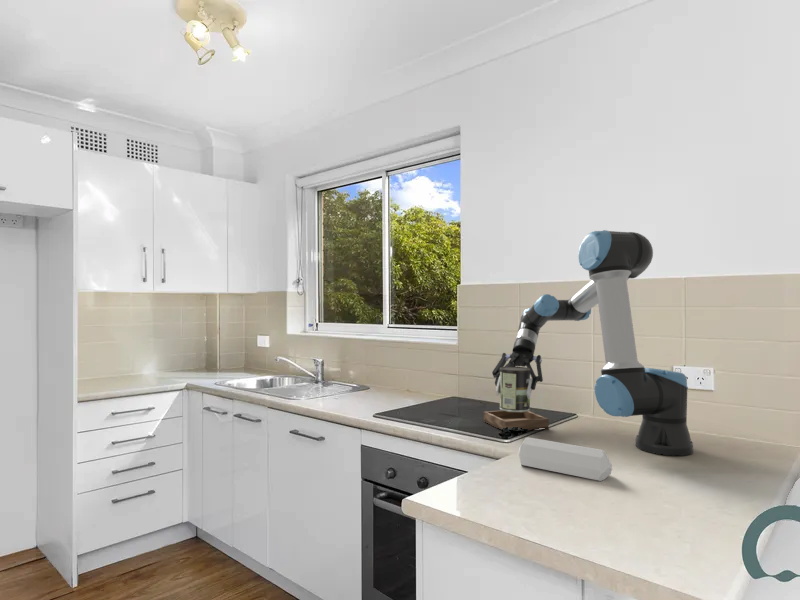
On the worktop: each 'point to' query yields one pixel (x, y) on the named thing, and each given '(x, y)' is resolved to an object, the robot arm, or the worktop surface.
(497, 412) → the tray
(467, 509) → the worktop surface
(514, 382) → the coffee can
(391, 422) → the worktop surface
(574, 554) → the worktop surface
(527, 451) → the crystal
